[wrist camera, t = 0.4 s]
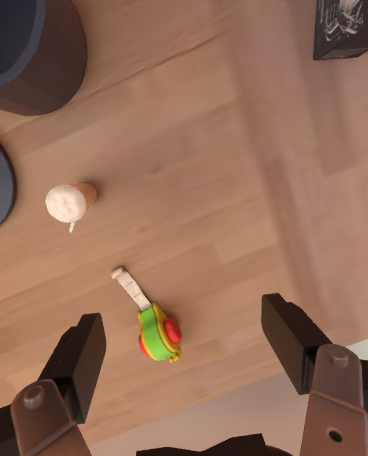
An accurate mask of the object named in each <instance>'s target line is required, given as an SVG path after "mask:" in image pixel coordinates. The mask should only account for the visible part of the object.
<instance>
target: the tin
mask: <svg viewBox="0 0 368 456" xmlns="http://www.w3.org/2000/svg"><path fill="white" fill-rule="evenodd" d="M86 64H87V44H86V37H85V33H84V30H83V26H82V24H81V21H80V18H79V16H78V13H77V11H76V8H75V6H74V5H73V3H72V1H71V0H0V110H3V111H7V112H12V113H16V114H20V115H24V116H32V115H42V114H47V113H50V112H53V111H55V110H57V109H59V108H61V107H62V106H63V105H65V104H66V103H67V102H68V101H69V100H70V99H71V98H72V97H73V96H74V95H75V93H76V92H77V90H78V89H79V87H80V85H81V83H82V80H83V77H84V74H85V70H86Z"/></svg>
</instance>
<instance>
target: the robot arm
mask: <svg viewBox="0 0 368 456" xmlns="http://www.w3.org/2000/svg"><path fill="white" fill-rule="evenodd" d="M261 323H262V328H263V332H264V334H265V336H266V338H267V339H268V341H269V343H270V345H271V346H272V348H273V350H274V352H275V353H276V355H277V357H278V359H279V361H280V362H281V364H282V366H283V368H284V369H285V371H286V373H287V375H288V376H289V378H290V380H291V382H292V384H293V385H294V387H295V389H296V391H297V392H298V394H299V395H303V394H310V396H309V401H308V407H307V413H306V419H305V425H304V432H303V438H302V444H301V451H300V456H368V360H361V359H359V358H358V357H357V355H356V354H354V353H353V352H352V351H350V350H349V349H347V348H345V347H343V346H340V345H336V344H333V343H332V342H331V341H330V340H329V339H328V338H327V337H326V335H325V334H324V333H323V332H322V331H321V330H320V329H319V328H318V327H317V325H316V324H315V323H313V321H312V320H311V319H310V318H309V317H308V316H307V314H306V313H305V312H304V311H303V310H302V309H301V308H300V307H298V306H297V305H295V304H293V303H292V302H286V301H285V300H284V299H283V298H282V296H281V295H280V294H279V293H274V294H265V295H263V296H262V314H261ZM105 352H106V337H105V332H104V327H103V322H102V317H101V314H100V313H92V314H84V315H82V317H81V319H80V321H79V323H78V325H77V326H74V327H71V328H70V329H69V330H67V331H66V332H65V333H64V334H63V335H62V337H61V339H60V341H59V342H58V346H56V348H55V350H54V351H53V353H52V355H51V357H50V359H49V360H48V362H47V364H46V366H45V368H44V369H43V371H42V373H41V375H40V376H39V378H38V380H37V381H36V382H34V383H32V384H30V385H28V386H27V387H25V388H24V389H23V390H21V391H20V392H19V393H18V394H17V396H16V397H15V398H14V400H13V402H12V404H10V405H8V406H5V407H2V408H0V456H92V455H91V454H90V451H89V449H88V447H87V445H86V443H85V440H84V438H83V436H82V434H81V432H80V430H79V428H78V426H77V424H84V423H85V421H86V418H87V414H88V411H89V407H90V404H91V400H92V397H93V394H94V390H95V387H96V383H97V380H98V376H99V373H100V370H101V366H102V363H103V359H104V356H105ZM136 456H293V455H291V454H289V453H288V452H286V451H283V450H281V449H279V448H275V447H272V446H267V445H265V442H264V439H263V436H262V434H261V433H260V434H253V435H247V436H239V437H232V438H230V439H227V440H225V441H223V442H221V443H219V444H217V445H215V446H213V447H211V448H209V449H207V450H204V451H201V452H198V451H191V450H185V449H178V448H173V447H163V448H156V449H149V450H142V451H137V452H136Z"/></svg>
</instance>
